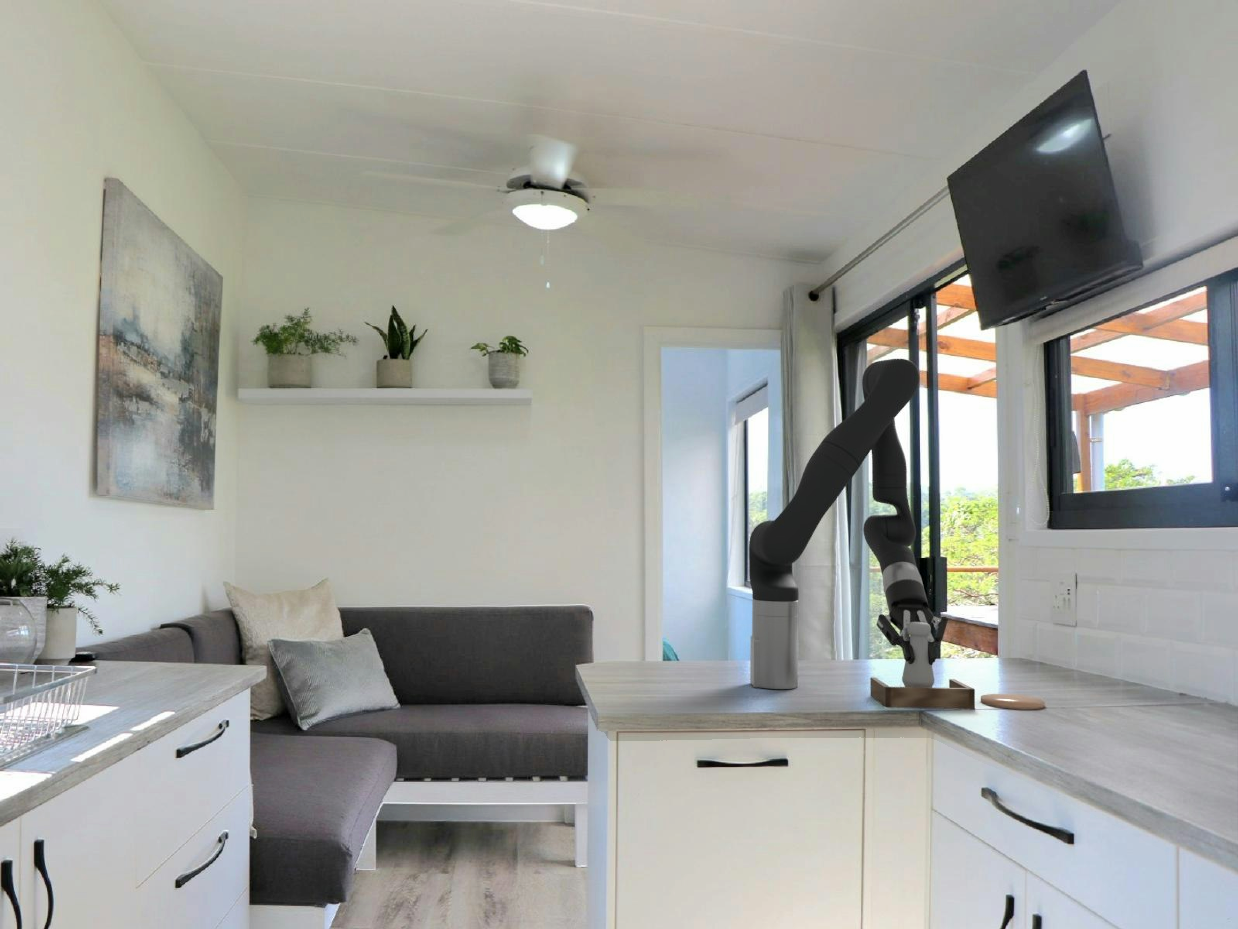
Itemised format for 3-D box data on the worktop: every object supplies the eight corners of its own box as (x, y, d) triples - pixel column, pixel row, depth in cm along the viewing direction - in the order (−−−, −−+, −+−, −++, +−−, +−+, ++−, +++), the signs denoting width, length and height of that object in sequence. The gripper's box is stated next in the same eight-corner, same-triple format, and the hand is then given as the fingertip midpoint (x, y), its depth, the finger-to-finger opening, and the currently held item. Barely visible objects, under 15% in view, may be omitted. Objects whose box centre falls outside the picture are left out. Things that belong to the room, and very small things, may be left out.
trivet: (993, 708, 171) (993, 704, 171) (972, 697, 182) (972, 693, 182) (1055, 710, 171) (1055, 705, 171) (1030, 698, 182) (1029, 694, 182)
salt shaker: (921, 689, 181) (922, 620, 182) (940, 695, 176) (941, 624, 176) (895, 690, 179) (896, 620, 180) (914, 696, 174) (915, 624, 175)
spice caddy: (885, 707, 171) (885, 687, 172) (870, 696, 182) (870, 677, 183) (974, 709, 171) (974, 689, 171) (954, 697, 182) (954, 679, 182)
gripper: (872, 576, 186) (887, 648, 173) (944, 579, 186) (965, 651, 173) (865, 601, 191) (879, 672, 178) (935, 604, 191) (955, 675, 178)
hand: (921, 661), depth 176 cm, fingers closed on salt shaker, 3 cm apart
